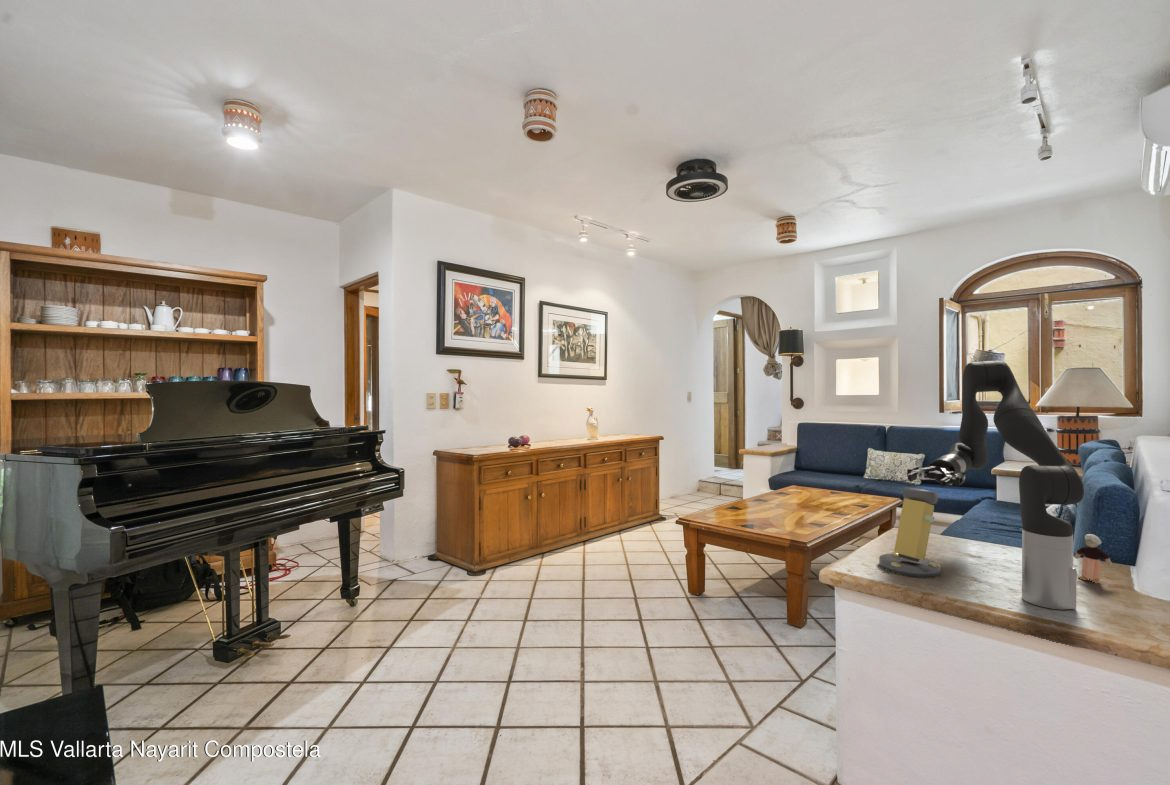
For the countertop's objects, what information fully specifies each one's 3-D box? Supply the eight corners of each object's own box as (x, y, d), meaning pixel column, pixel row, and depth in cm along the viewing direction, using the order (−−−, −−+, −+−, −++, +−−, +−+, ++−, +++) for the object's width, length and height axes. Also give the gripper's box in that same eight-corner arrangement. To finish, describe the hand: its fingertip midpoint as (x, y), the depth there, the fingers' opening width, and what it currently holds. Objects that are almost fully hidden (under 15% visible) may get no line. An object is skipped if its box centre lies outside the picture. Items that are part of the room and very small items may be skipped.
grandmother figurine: (1071, 578, 145) (1071, 532, 144) (1075, 575, 147) (1075, 530, 147) (1110, 587, 138) (1111, 538, 138) (1113, 583, 141) (1114, 536, 141)
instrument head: (899, 557, 157) (912, 488, 160) (927, 564, 150) (940, 493, 153) (889, 554, 155) (902, 485, 158) (918, 562, 148) (931, 489, 151)
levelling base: (898, 557, 163) (898, 549, 163) (951, 571, 150) (951, 563, 150) (868, 565, 156) (868, 557, 156) (921, 581, 143) (921, 572, 143)
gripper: (922, 453, 171) (899, 464, 162) (974, 460, 160) (953, 473, 151) (922, 475, 172) (899, 488, 163) (974, 483, 161) (953, 498, 152)
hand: (925, 481), depth 157 cm, fingers open, 8 cm apart
